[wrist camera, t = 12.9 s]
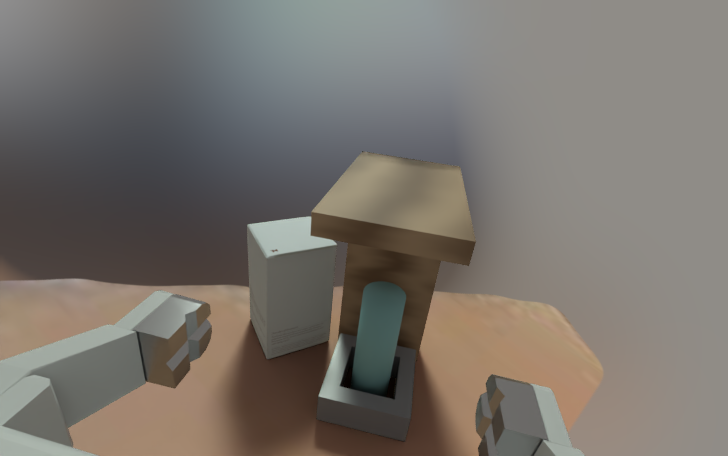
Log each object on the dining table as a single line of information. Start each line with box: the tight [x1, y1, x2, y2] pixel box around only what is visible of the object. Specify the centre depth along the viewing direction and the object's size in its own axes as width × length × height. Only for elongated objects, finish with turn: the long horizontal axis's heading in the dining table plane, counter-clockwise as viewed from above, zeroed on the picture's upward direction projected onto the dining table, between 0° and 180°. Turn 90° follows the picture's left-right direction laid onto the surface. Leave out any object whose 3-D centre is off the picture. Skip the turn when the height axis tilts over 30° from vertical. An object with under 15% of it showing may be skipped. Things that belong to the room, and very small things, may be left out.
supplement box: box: [247, 217, 337, 359], centre depth 39 cm, size 7×7×13 cm
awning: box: [310, 151, 476, 361], centre depth 31 cm, size 9×15×22 cm, turn 169°
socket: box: [316, 333, 416, 442], centre depth 34 cm, size 8×8×3 cm
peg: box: [350, 281, 406, 397], centre depth 32 cm, size 4×4×12 cm
